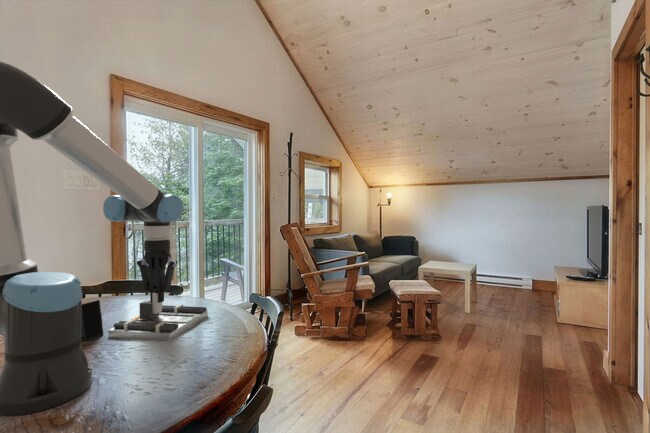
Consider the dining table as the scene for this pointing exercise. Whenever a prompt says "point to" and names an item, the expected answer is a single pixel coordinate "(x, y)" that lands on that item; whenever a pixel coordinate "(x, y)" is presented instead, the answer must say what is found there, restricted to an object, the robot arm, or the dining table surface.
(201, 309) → the cords right
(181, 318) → the panel
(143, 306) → the dark grey block
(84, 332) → the speaker
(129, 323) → the cords left
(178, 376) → the dining table surface
